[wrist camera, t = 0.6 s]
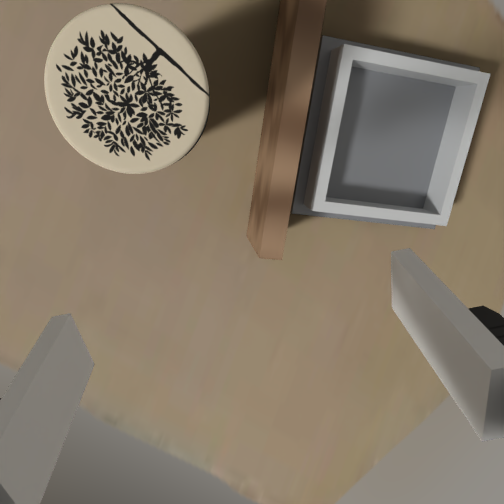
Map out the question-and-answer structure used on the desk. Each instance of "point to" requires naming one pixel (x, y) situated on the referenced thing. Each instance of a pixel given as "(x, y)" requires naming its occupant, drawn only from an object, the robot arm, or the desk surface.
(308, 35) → the door edge rail
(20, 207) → the desk surface
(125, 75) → the travel mug
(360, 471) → the desk surface
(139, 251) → the desk surface
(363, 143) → the socket
